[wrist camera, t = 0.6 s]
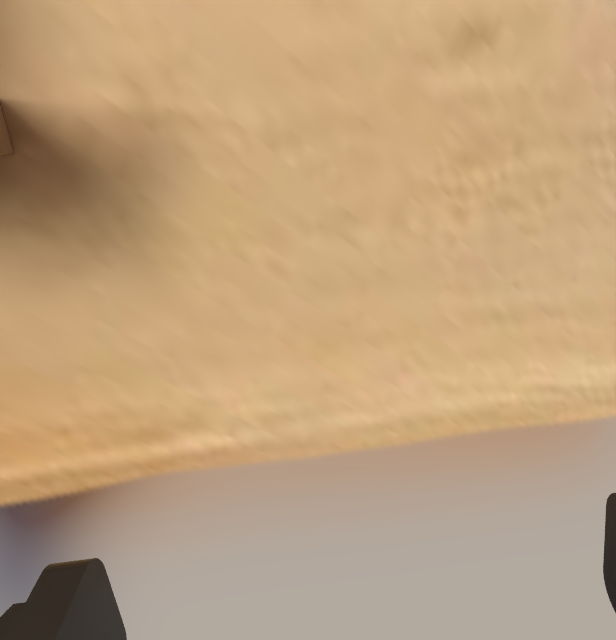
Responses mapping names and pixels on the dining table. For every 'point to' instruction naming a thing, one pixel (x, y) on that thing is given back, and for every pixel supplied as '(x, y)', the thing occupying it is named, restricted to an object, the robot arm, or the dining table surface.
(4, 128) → the walnut slotted plate
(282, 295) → the dining table surface
